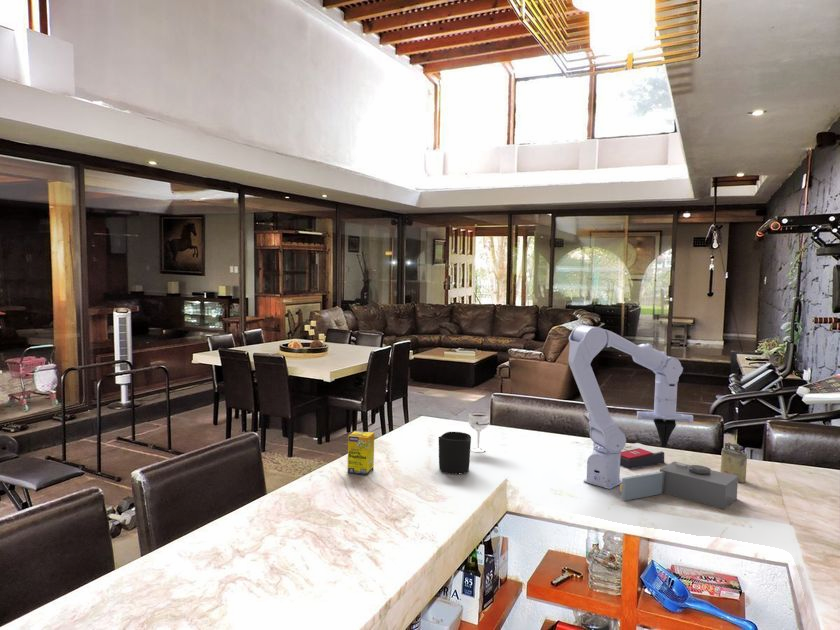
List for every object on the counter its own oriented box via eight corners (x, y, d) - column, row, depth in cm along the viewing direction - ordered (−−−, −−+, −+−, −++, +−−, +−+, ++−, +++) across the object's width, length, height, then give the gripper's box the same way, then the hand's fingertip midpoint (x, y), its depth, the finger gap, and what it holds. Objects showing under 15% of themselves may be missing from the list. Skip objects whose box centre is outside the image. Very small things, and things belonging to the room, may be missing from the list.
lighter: (748, 482, 159) (750, 447, 159) (740, 484, 157) (742, 448, 157) (724, 474, 166) (726, 440, 165) (716, 476, 164) (718, 442, 163)
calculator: (602, 448, 178) (637, 440, 185) (602, 461, 179) (637, 453, 185) (628, 458, 168) (665, 450, 175) (628, 472, 169) (665, 463, 175)
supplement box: (347, 473, 160) (347, 435, 159) (354, 467, 165) (355, 430, 165) (367, 475, 158) (367, 437, 158) (373, 469, 164) (374, 431, 163)
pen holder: (475, 473, 162) (476, 438, 162) (445, 476, 159) (446, 441, 158) (461, 463, 171) (462, 430, 170) (432, 466, 167) (433, 433, 167)
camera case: (724, 509, 139) (726, 481, 139) (658, 491, 150) (660, 465, 150) (736, 498, 146) (738, 472, 146) (673, 482, 157) (674, 457, 157)
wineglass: (464, 448, 186) (465, 412, 186) (483, 447, 188) (484, 411, 188) (472, 454, 180) (473, 417, 179) (492, 453, 182) (493, 416, 181)
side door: (619, 498, 144) (620, 477, 144) (658, 490, 150) (659, 470, 150) (624, 500, 143) (625, 479, 142) (664, 493, 149) (665, 472, 148)
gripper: (640, 399, 157) (638, 447, 158) (696, 403, 154) (694, 452, 154) (636, 394, 164) (634, 440, 165) (690, 398, 161) (688, 445, 161)
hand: (663, 446), depth 160 cm, fingers closed
